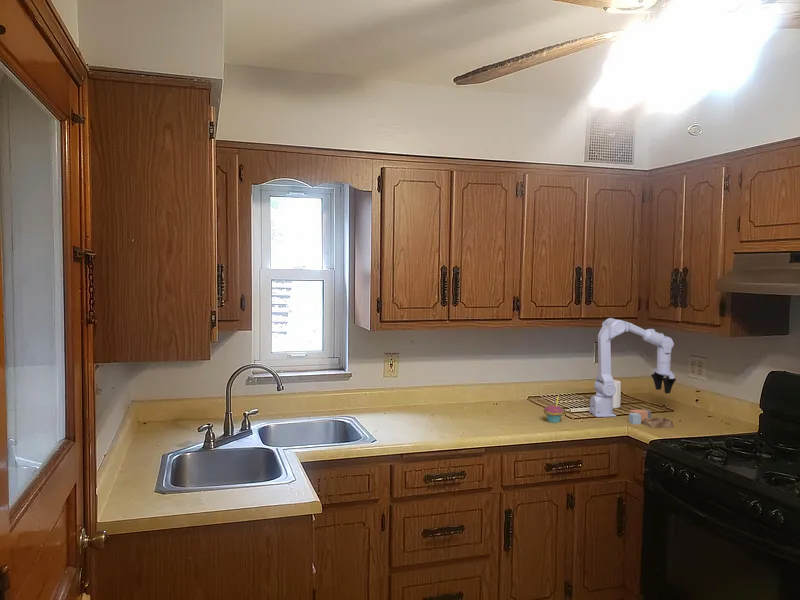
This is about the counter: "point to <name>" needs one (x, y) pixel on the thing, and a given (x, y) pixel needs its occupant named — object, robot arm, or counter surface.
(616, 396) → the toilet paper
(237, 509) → the counter surface
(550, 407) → the cupcake
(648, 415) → the two-tone peach block
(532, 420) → the counter surface
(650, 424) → the jig
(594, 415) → the robot arm
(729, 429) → the counter surface
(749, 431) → the counter surface
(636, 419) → the pale blue-grey cube
